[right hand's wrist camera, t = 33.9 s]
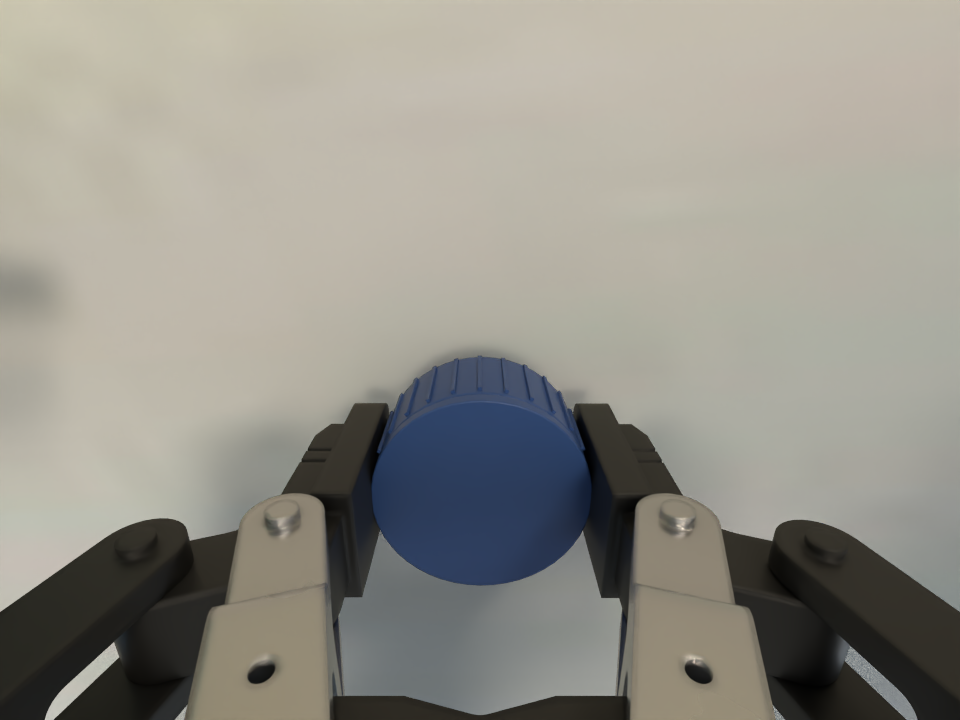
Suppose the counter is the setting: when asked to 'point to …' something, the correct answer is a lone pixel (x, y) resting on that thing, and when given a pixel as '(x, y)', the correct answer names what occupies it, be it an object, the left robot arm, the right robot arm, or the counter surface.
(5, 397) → the counter surface
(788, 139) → the counter surface
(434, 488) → the cap
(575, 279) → the counter surface
